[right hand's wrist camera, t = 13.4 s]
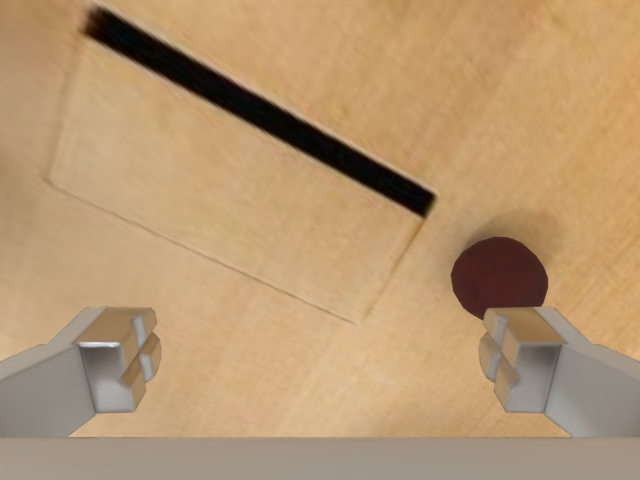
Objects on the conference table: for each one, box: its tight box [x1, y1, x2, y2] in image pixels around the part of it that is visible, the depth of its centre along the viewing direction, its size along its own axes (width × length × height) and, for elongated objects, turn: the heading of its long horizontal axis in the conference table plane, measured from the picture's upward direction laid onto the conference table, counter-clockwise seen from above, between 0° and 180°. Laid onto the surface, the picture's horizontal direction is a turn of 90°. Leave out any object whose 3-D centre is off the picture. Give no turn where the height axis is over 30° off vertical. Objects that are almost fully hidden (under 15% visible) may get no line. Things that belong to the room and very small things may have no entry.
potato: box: [451, 237, 548, 320], centre depth 36 cm, size 7×8×7 cm
